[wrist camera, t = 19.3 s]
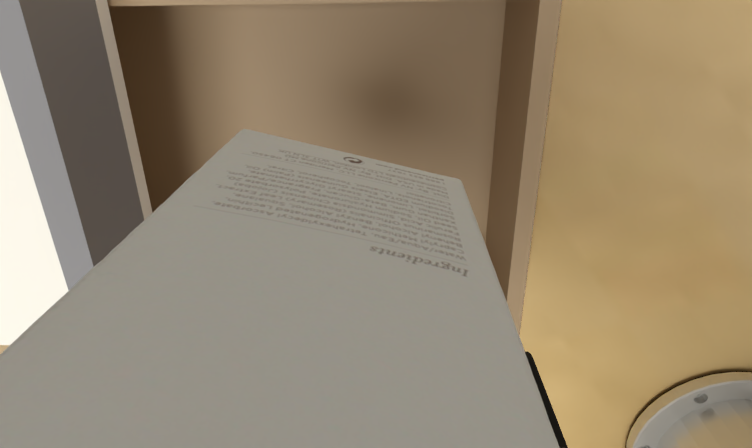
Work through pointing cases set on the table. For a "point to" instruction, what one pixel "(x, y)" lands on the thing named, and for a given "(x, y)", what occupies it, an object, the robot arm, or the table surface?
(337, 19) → the tray
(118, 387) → the small box
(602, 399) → the table surface
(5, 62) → the lid
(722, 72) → the table surface
